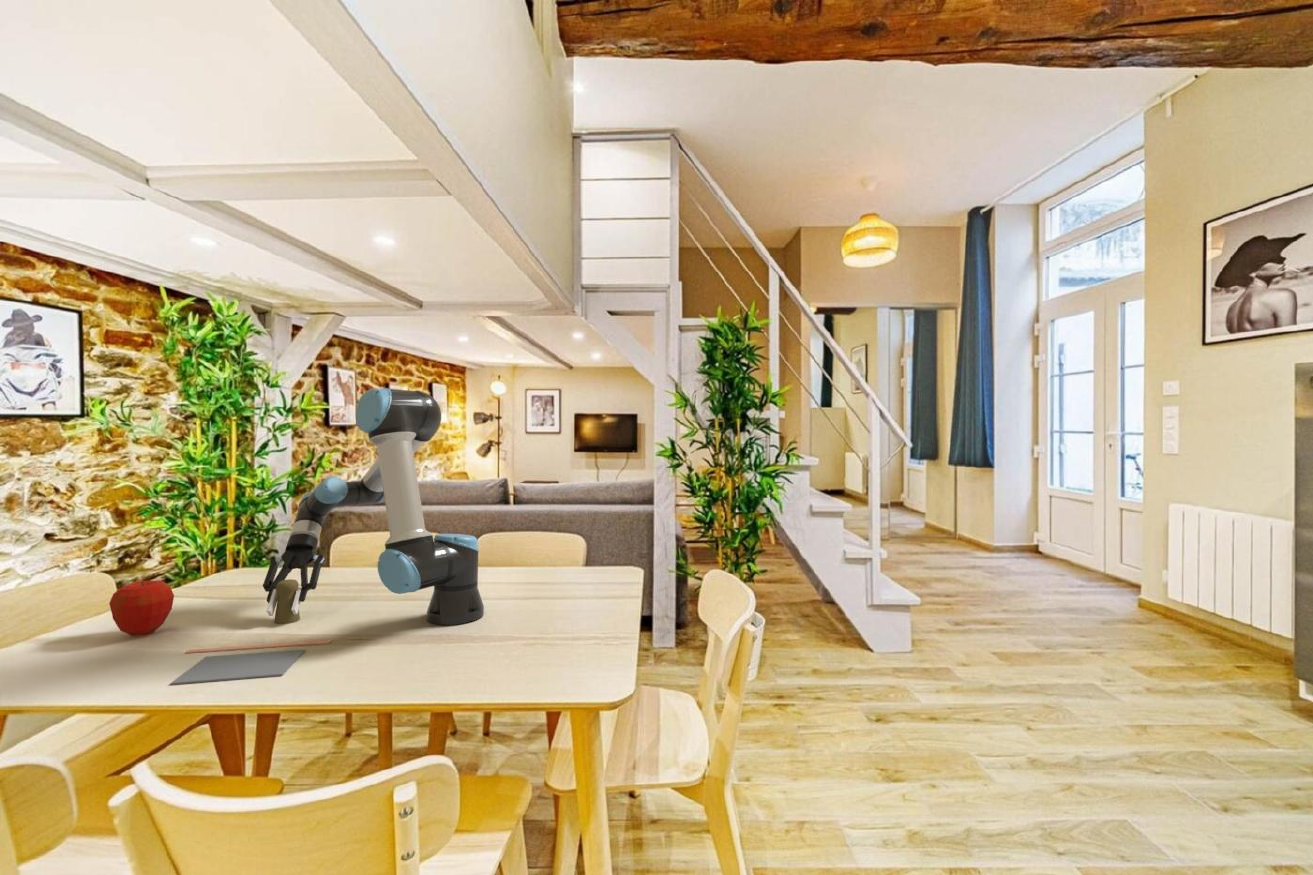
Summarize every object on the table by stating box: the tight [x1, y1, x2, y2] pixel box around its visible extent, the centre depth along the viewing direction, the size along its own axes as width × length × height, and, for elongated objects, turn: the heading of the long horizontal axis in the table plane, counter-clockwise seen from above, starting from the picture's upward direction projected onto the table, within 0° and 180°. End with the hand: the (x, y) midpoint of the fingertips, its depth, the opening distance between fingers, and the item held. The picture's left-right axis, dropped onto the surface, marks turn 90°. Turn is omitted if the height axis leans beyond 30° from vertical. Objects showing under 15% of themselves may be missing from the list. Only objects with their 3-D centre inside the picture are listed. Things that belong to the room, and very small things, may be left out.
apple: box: [109, 578, 175, 637], centre depth 144 cm, size 12×12×14 cm
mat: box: [170, 649, 306, 686], centre depth 125 cm, size 20×14×1 cm
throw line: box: [184, 639, 332, 654], centre depth 137 cm, size 30×2×1 cm, turn 105°
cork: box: [273, 578, 301, 625], centre depth 156 cm, size 6×6×11 cm
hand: (282, 612), depth 152 cm, fingers closed on cork, 5 cm apart
